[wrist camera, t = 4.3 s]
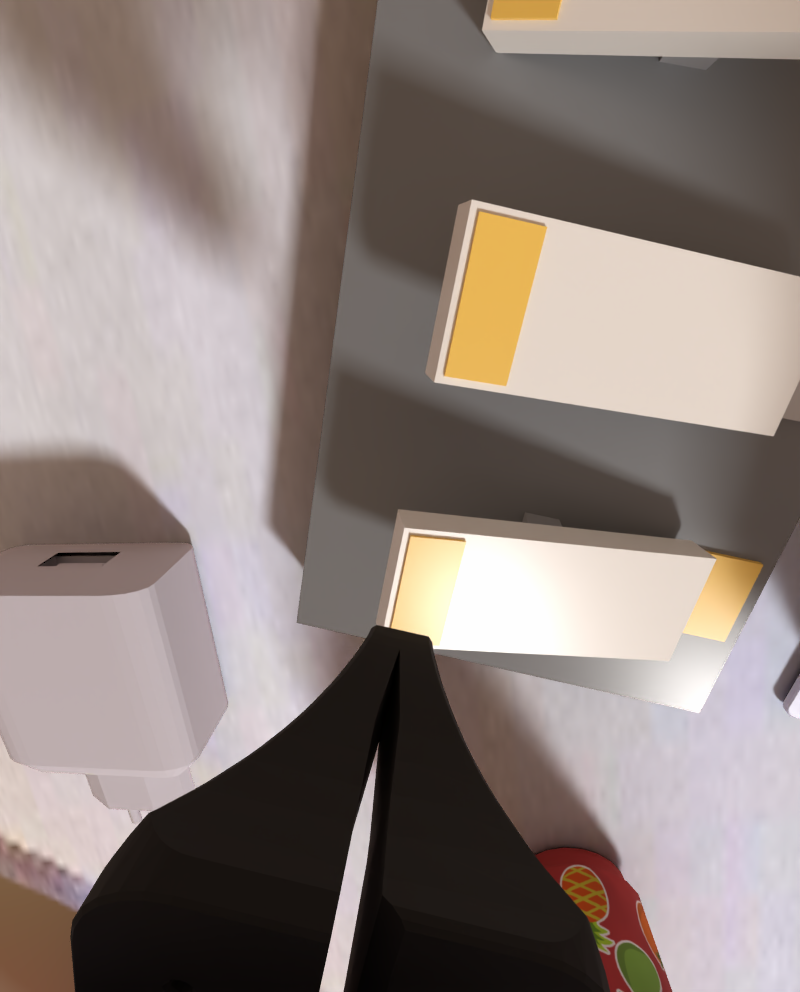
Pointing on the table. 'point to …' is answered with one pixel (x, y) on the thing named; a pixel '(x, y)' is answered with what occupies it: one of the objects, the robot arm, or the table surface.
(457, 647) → the block
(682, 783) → the table surface
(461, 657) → the switch panel
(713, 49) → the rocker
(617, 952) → the smoothie
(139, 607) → the charger
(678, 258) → the block
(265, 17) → the table surface
